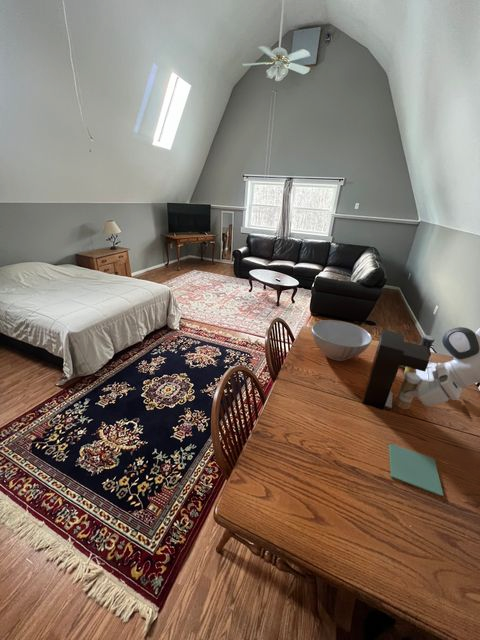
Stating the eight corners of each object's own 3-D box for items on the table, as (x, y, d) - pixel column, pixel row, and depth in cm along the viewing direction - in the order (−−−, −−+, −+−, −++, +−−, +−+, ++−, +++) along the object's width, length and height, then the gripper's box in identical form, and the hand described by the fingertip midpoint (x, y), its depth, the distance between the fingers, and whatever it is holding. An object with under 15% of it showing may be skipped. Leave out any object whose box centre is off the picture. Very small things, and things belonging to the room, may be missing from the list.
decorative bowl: (360, 377, 114) (367, 353, 109) (300, 357, 126) (304, 334, 121) (369, 350, 135) (375, 329, 130) (317, 335, 147) (320, 315, 142)
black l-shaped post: (406, 396, 104) (428, 339, 94) (407, 419, 93) (431, 358, 82) (366, 383, 110) (382, 329, 100) (362, 403, 99) (380, 345, 89)
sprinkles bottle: (398, 409, 97) (409, 379, 92) (393, 400, 101) (403, 371, 96) (411, 410, 97) (423, 380, 91) (405, 401, 101) (416, 372, 95)
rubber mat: (434, 459, 78) (434, 458, 78) (443, 497, 68) (443, 495, 68) (388, 444, 83) (389, 443, 83) (391, 477, 73) (391, 476, 73)
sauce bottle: (401, 376, 116) (415, 336, 108) (406, 371, 120) (420, 331, 111) (417, 384, 111) (434, 342, 103) (422, 378, 115) (439, 337, 107)
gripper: (439, 354, 97) (400, 368, 105) (447, 385, 80) (400, 399, 88) (449, 369, 97) (410, 381, 105) (459, 402, 80) (411, 414, 88)
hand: (405, 390), depth 96 cm, fingers closed on sprinkles bottle, 4 cm apart
